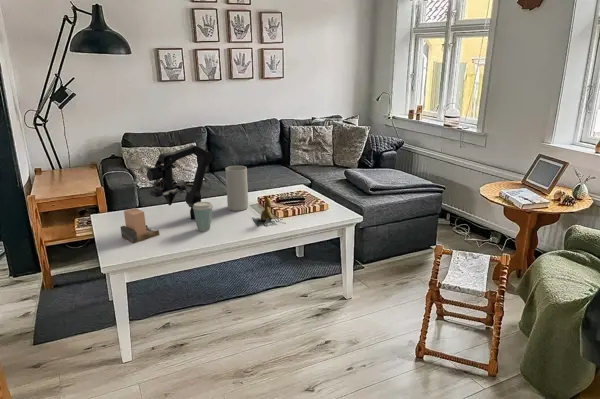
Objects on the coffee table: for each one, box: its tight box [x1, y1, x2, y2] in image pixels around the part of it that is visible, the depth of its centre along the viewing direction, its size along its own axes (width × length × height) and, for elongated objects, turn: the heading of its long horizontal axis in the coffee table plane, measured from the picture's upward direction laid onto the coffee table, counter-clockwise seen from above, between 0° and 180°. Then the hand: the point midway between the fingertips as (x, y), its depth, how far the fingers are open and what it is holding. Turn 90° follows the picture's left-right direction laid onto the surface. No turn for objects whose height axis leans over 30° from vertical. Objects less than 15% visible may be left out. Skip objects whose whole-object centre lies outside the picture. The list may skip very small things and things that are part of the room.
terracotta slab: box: [123, 207, 147, 237], centre depth 230 cm, size 6×9×12 cm, turn 49°
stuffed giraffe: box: [251, 194, 287, 228], centre depth 253 cm, size 16×18×16 cm
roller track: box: [120, 224, 160, 244], centre depth 233 cm, size 14×12×6 cm
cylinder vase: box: [225, 165, 249, 212], centre depth 271 cm, size 12×12×25 cm
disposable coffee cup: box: [193, 201, 214, 232], centre depth 240 cm, size 11×11×15 cm
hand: (169, 205), depth 243 cm, fingers closed
